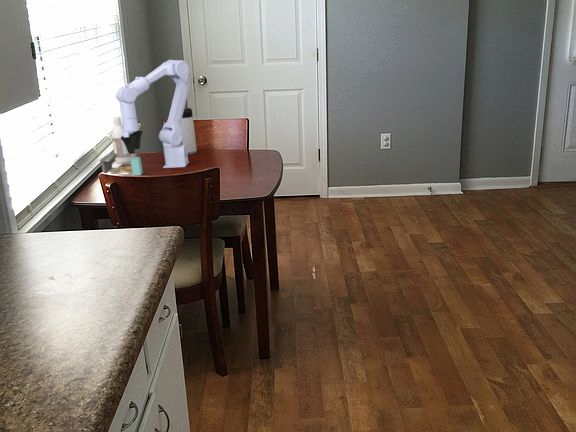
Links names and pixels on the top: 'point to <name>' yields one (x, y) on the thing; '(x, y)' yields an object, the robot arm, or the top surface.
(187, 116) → the travel mug
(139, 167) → the peg
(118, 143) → the bath foam
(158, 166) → the top surface
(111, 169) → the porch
